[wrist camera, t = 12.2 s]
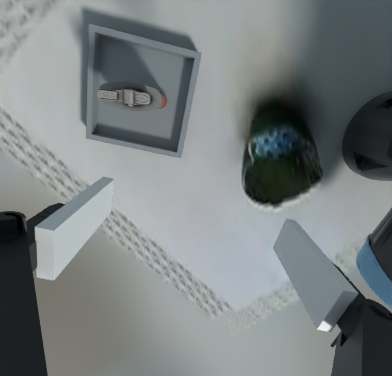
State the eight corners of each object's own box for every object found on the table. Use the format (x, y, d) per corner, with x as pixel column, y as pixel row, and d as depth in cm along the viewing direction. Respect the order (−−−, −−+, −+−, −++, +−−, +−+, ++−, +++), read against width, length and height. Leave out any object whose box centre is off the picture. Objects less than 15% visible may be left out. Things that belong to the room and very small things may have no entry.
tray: (200, 57, 32) (201, 52, 29) (181, 154, 38) (180, 158, 35) (98, 30, 31) (88, 23, 28) (94, 135, 36) (85, 138, 33)
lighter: (168, 89, 33) (159, 83, 24) (167, 112, 34) (158, 114, 25) (117, 84, 33) (87, 76, 23) (118, 107, 34) (90, 108, 25)
